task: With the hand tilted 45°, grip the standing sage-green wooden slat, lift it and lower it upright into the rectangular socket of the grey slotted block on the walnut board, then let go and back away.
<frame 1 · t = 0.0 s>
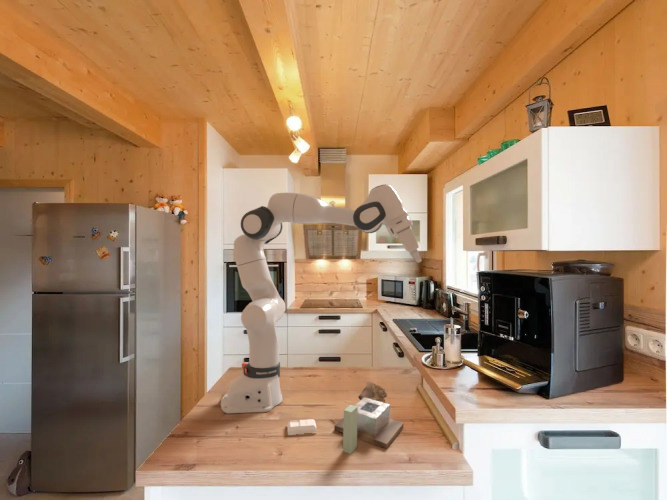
hand: (418, 261, 117), 54 cm above the worktop, tool tilted 30°, fingers open, 8 cm apart
sage slat: (349, 449, 98), on the worktop
grey slotted block: (369, 424, 109), resting on walnut board
wooden fragment: (372, 396, 133), on the worktop
soap bar: (301, 431, 107), on the worktop
walnut board: (369, 428, 109), on the worktop
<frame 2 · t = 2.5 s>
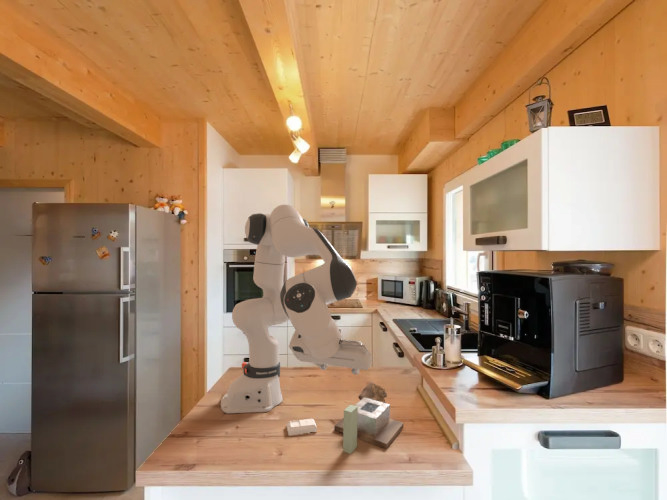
hand: (340, 369, 89), 27 cm above the worktop, tool tilted 40°, fingers open, 8 cm apart
nothing on the worktop moved.
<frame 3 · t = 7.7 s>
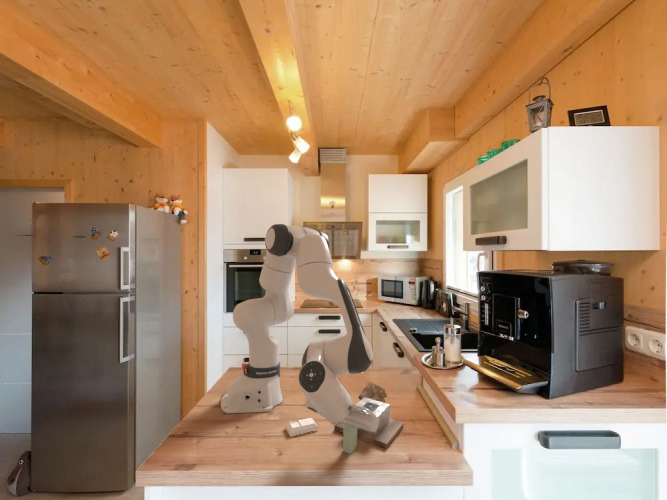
hand: (351, 422, 98), 7 cm above the worktop, tool tilted 45°, fingers closed on sage slat, 2 cm apart
sage slat: (349, 449, 98), on the worktop, touching gripper
everything else where it was.
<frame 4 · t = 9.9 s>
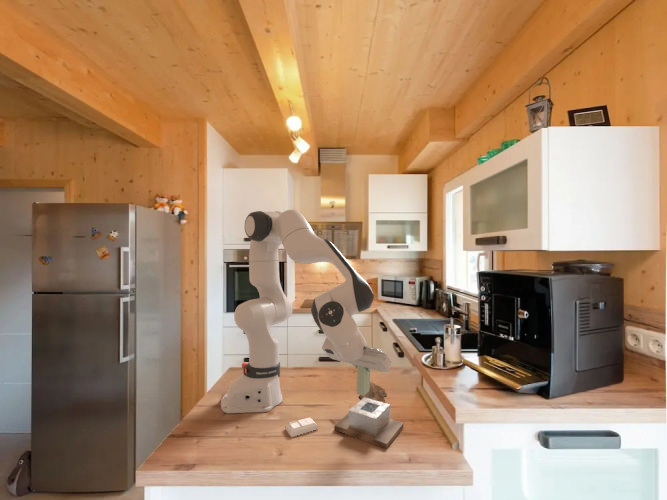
hand: (364, 368, 105), 21 cm above the worktop, tool tilted 45°, fingers closed on sage slat, 2 cm apart
sage slat: (363, 392, 105), point 14 cm above the worktop, touching gripper
when the fingers open (11 cm above the worktop, at t = 12.6 s): sage slat drops 1 cm, resting on grey slotted block.
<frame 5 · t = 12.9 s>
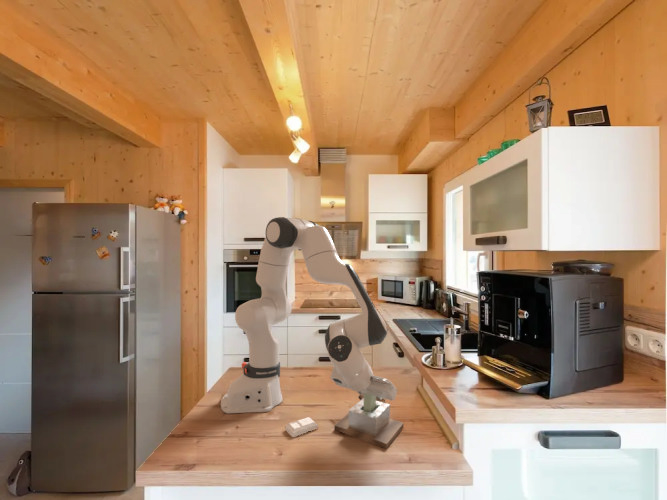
hand: (370, 394, 109), 11 cm above the worktop, tool tilted 45°, fingers open, 5 cm apart
sage slat: (369, 420, 109), point 2 cm above the worktop, touching grey slotted block
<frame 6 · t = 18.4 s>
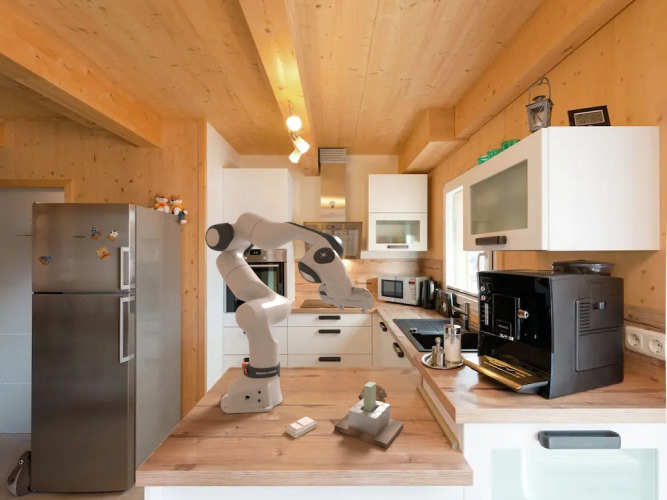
hand: (353, 310, 124), 35 cm above the worktop, tool tilted 45°, fingers open, 8 cm apart
at the end: sage slat 0.1 cm off-centre on the grey slotted block, point 1.0 cm above the grey slotted block's base; sage slat tilted 0°; the gripper is holding nothing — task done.
